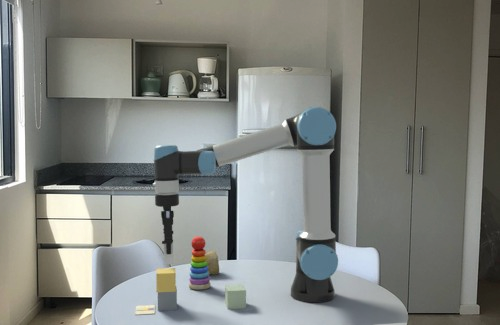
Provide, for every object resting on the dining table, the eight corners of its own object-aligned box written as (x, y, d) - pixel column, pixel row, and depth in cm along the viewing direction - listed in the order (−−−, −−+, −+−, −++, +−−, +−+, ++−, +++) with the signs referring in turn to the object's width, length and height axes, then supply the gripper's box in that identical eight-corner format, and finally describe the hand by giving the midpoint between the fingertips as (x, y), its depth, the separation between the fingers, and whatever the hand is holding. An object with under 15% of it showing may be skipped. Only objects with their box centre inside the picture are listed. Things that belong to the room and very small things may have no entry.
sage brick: (243, 302, 176) (243, 284, 176) (245, 308, 170) (246, 290, 170) (225, 303, 175) (225, 285, 175) (227, 309, 169) (227, 291, 169)
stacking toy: (199, 282, 198) (199, 233, 197) (215, 286, 193) (215, 236, 192) (184, 287, 192) (184, 236, 191) (199, 291, 187) (199, 239, 186)
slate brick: (176, 303, 174) (176, 285, 174) (176, 309, 169) (176, 291, 168) (157, 304, 173) (157, 286, 173) (157, 310, 167) (157, 292, 167)
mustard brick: (175, 286, 174) (175, 268, 173) (175, 291, 168) (175, 273, 168) (156, 286, 173) (156, 268, 173) (156, 292, 167) (156, 273, 167)
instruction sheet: (154, 305, 172) (154, 304, 172) (154, 313, 164) (154, 312, 164) (136, 306, 171) (136, 305, 171) (135, 314, 163) (135, 314, 163)
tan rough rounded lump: (228, 259, 206) (205, 250, 204) (217, 282, 207) (194, 273, 204) (225, 252, 215) (203, 243, 213) (215, 274, 216) (192, 265, 214)
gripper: (155, 189, 180) (156, 250, 182) (154, 198, 156) (156, 269, 157) (177, 188, 182) (178, 249, 183) (180, 197, 157) (181, 267, 158)
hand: (168, 258), depth 170 cm, fingers open, 13 cm apart
